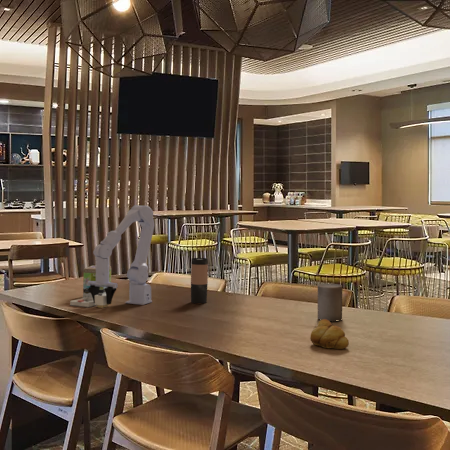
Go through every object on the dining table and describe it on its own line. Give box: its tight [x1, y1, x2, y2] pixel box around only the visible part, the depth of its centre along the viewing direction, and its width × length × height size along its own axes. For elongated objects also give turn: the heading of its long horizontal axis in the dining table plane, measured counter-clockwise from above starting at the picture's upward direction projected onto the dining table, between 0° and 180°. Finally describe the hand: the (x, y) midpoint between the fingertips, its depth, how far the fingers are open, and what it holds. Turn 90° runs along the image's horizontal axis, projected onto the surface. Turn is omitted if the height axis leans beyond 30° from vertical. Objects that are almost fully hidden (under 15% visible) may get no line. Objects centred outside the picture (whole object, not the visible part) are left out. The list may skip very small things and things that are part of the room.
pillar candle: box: [317, 282, 343, 321], centre depth 222 cm, size 10×10×15 cm
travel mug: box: [190, 257, 209, 304], centre depth 257 cm, size 8×8×20 cm
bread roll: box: [309, 319, 350, 350], centre depth 182 cm, size 13×10×8 cm
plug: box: [95, 293, 109, 309], centre depth 245 cm, size 4×5×6 cm
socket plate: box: [69, 297, 97, 309], centre depth 250 cm, size 10×11×3 cm
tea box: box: [82, 265, 112, 298], centre depth 267 cm, size 15×10×15 cm, turn 179°
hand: (102, 303), depth 245 cm, fingers open, 6 cm apart
